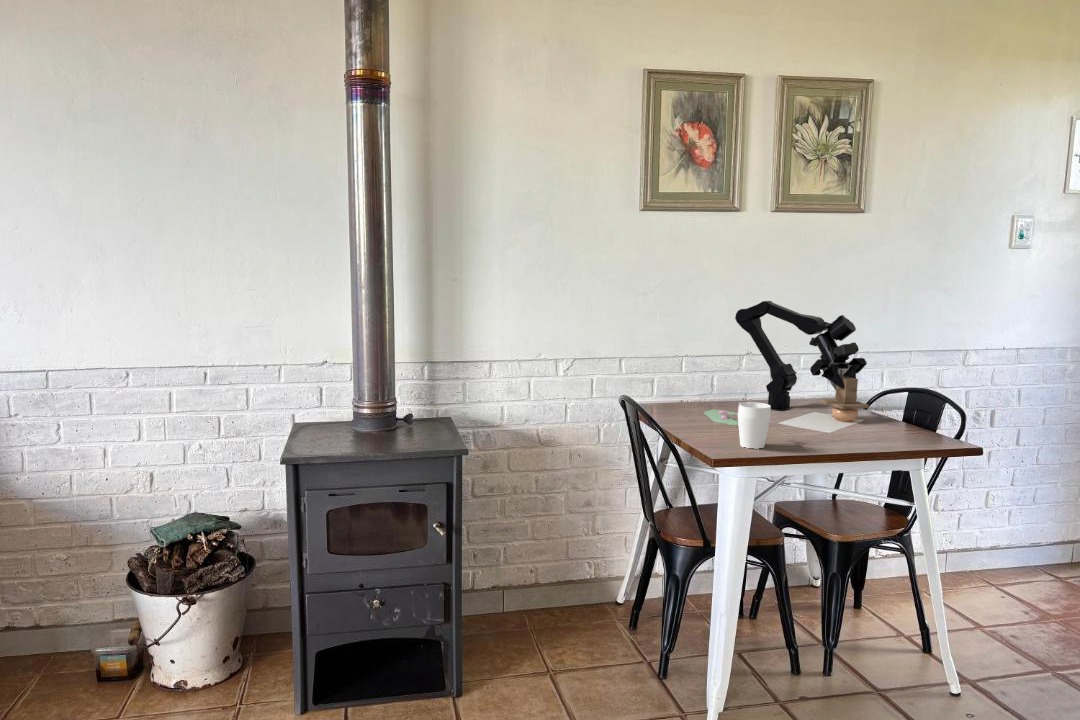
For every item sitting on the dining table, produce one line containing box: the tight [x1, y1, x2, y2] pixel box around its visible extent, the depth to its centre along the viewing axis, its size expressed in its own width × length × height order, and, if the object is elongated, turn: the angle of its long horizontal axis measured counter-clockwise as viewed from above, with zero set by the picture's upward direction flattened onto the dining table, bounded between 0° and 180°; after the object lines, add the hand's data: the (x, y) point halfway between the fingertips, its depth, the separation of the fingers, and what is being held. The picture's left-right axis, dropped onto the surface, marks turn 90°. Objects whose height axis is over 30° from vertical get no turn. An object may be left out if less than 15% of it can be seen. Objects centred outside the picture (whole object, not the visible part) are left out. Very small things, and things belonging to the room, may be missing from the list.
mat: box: [777, 411, 865, 434], centre depth 256 cm, size 17×26×1 cm, turn 136°
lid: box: [821, 377, 870, 410], centre depth 258 cm, size 10×10×9 cm
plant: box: [703, 393, 753, 426], centre depth 264 cm, size 25×21×9 cm
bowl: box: [831, 406, 859, 422], centre depth 259 cm, size 8×8×4 cm
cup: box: [737, 401, 772, 450], centre depth 226 cm, size 9×9×12 cm
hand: (849, 387), depth 256 cm, fingers closed on lid, 4 cm apart
